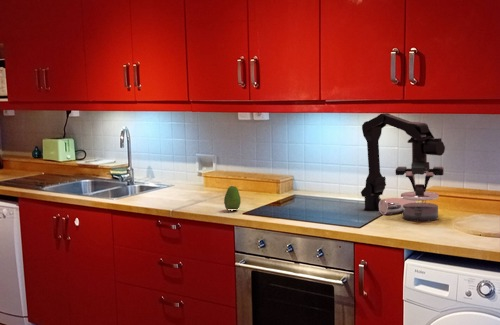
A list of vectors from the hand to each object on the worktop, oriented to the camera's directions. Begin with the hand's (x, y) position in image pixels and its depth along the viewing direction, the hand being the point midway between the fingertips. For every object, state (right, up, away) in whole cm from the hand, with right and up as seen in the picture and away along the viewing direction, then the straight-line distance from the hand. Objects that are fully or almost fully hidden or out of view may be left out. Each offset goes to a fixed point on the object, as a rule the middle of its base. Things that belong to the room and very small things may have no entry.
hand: (419, 191), depth 244 cm
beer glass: (+1, -6, +16) cm, 17 cm away
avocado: (-78, -11, +34) cm, 86 cm away
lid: (0, -2, 0) cm, 2 cm away
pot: (0, -11, -1) cm, 11 cm away
